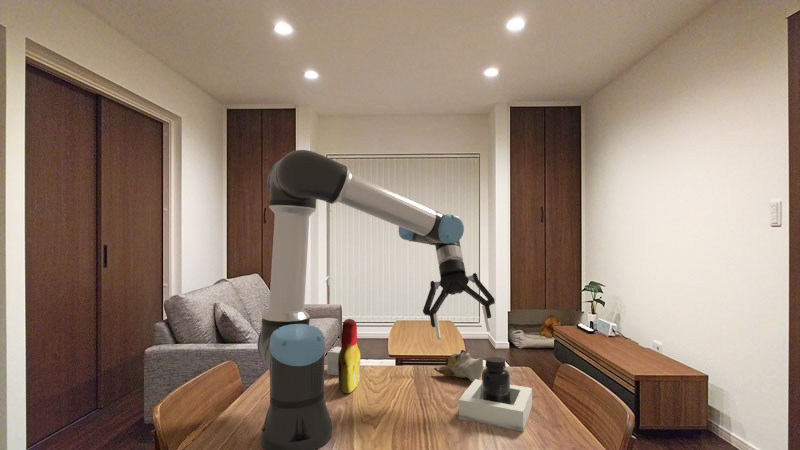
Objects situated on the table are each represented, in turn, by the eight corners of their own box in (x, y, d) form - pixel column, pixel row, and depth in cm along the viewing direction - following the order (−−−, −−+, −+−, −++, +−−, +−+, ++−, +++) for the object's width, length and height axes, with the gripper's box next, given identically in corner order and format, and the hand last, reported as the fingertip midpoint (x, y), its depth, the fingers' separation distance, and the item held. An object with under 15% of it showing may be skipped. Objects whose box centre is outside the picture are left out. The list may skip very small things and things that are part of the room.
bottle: (356, 397, 107) (356, 323, 108) (333, 396, 108) (333, 323, 108) (362, 380, 119) (362, 314, 120) (342, 380, 120) (342, 314, 120)
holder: (458, 418, 94) (458, 399, 95) (475, 395, 108) (475, 379, 108) (523, 431, 88) (523, 411, 88) (532, 405, 101) (531, 388, 101)
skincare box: (352, 370, 129) (352, 347, 129) (343, 376, 123) (343, 353, 123) (336, 368, 131) (336, 346, 131) (326, 374, 125) (326, 351, 125)
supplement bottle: (507, 402, 101) (507, 355, 101) (512, 414, 94) (512, 364, 95) (480, 401, 102) (480, 354, 102) (484, 413, 95) (483, 363, 95)
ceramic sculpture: (472, 357, 114) (431, 350, 124) (474, 387, 113) (433, 378, 123) (490, 349, 122) (450, 343, 132) (492, 378, 121) (452, 370, 131)
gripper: (493, 260, 118) (510, 330, 107) (413, 275, 123) (421, 344, 112) (492, 250, 112) (509, 323, 101) (407, 266, 116) (415, 338, 105)
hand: (463, 334), depth 106 cm, fingers open, 13 cm apart
